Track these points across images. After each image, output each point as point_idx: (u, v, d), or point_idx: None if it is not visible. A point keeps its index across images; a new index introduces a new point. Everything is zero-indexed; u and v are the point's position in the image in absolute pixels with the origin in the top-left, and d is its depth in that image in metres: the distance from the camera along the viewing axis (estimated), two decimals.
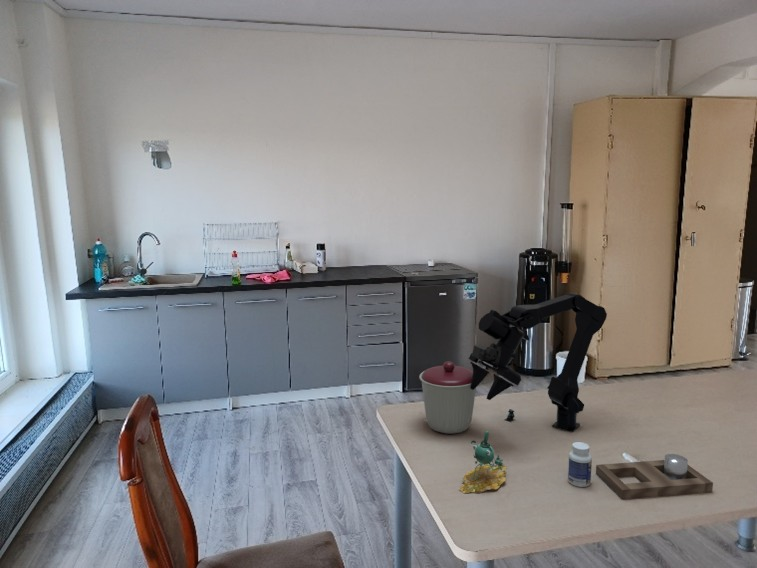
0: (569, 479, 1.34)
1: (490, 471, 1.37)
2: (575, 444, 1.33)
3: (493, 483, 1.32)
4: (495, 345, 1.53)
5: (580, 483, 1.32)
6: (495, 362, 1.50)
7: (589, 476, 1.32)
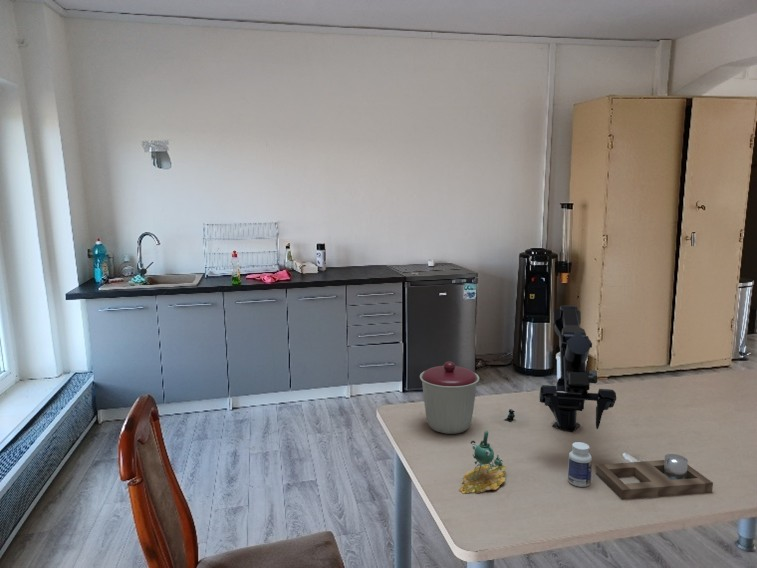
0: (569, 479, 1.34)
1: (490, 471, 1.37)
2: (575, 444, 1.33)
3: (493, 483, 1.32)
4: (573, 371, 1.44)
5: (580, 483, 1.32)
6: None
7: (589, 476, 1.32)
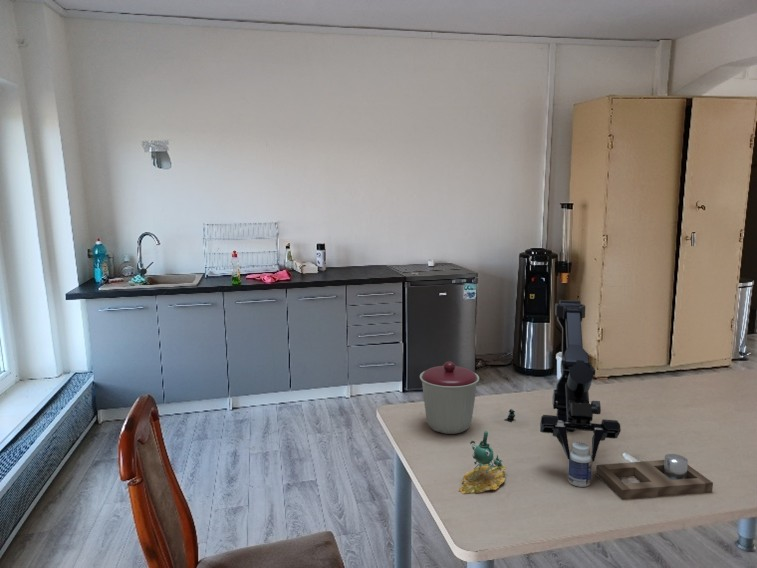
0: (569, 479, 1.34)
1: (489, 471, 1.37)
2: (575, 444, 1.33)
3: (492, 483, 1.32)
4: (576, 400, 1.38)
5: (580, 483, 1.32)
6: None
7: (589, 476, 1.32)
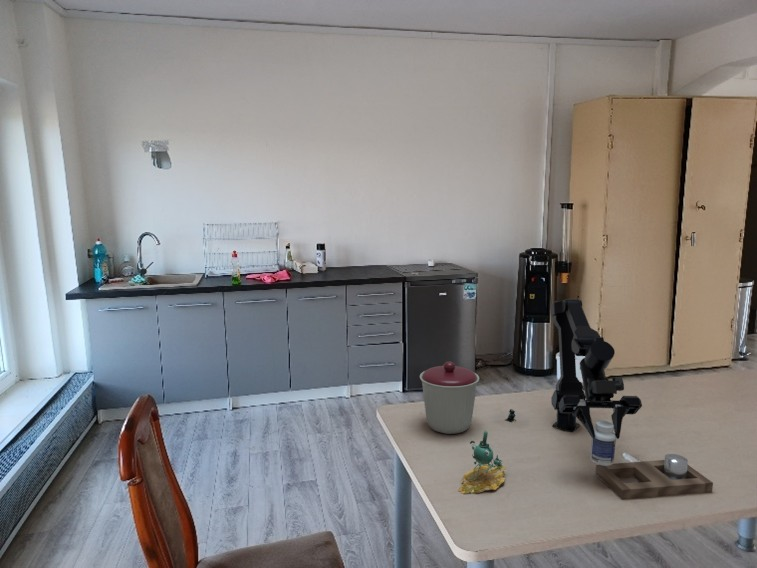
0: (593, 458, 1.31)
1: (489, 471, 1.37)
2: (599, 423, 1.31)
3: (492, 483, 1.32)
4: (595, 378, 1.36)
5: (605, 462, 1.30)
6: None
7: (613, 454, 1.30)
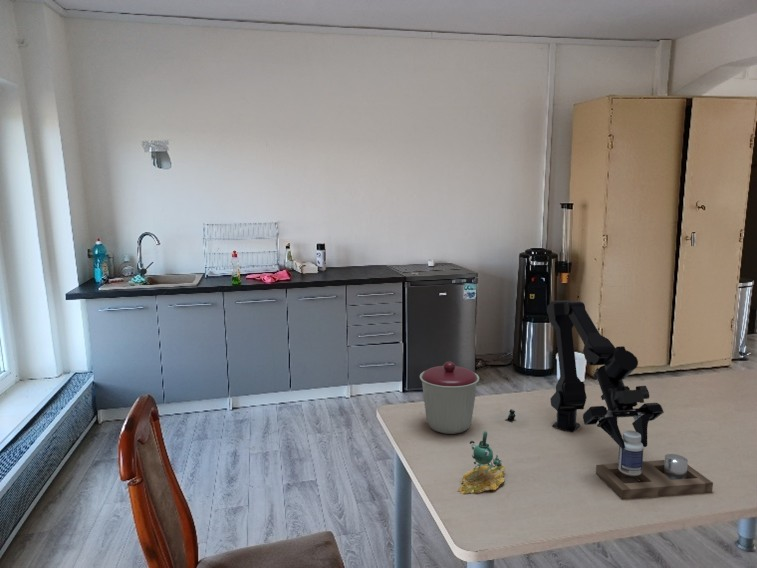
0: (623, 470, 1.31)
1: (489, 471, 1.37)
2: (626, 433, 1.31)
3: (492, 483, 1.32)
4: (616, 387, 1.36)
5: (636, 472, 1.30)
6: None
7: None
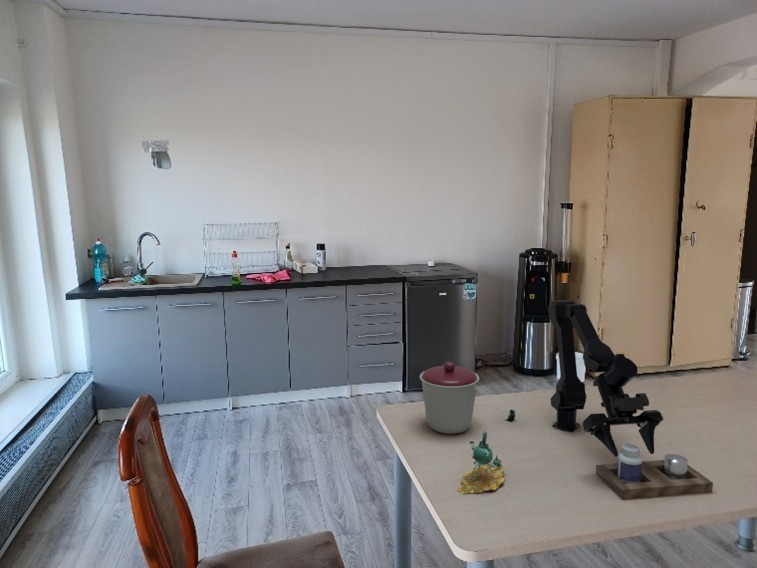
0: None
1: (488, 472, 1.37)
2: (625, 447, 1.32)
3: (491, 484, 1.32)
4: (616, 395, 1.36)
5: None
6: None
7: (640, 477, 1.31)
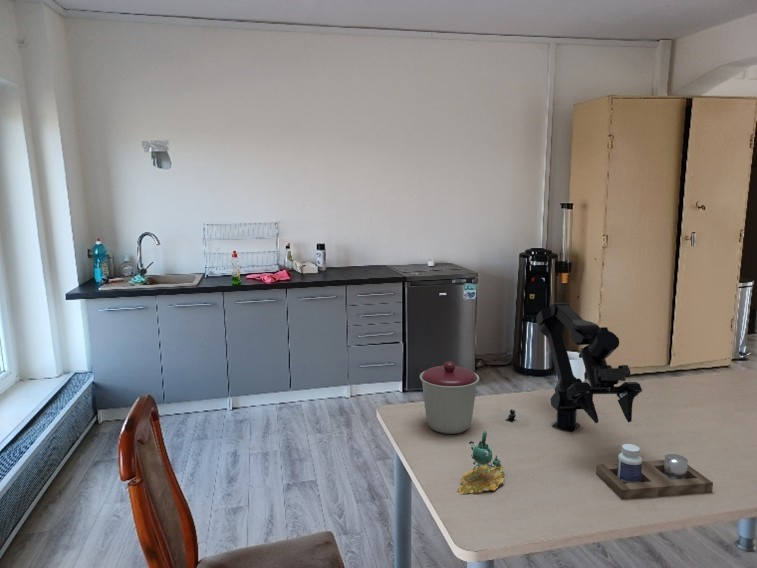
0: None
1: (488, 472, 1.37)
2: (625, 447, 1.32)
3: (491, 484, 1.32)
4: (600, 366, 1.43)
5: None
6: None
7: (640, 477, 1.31)
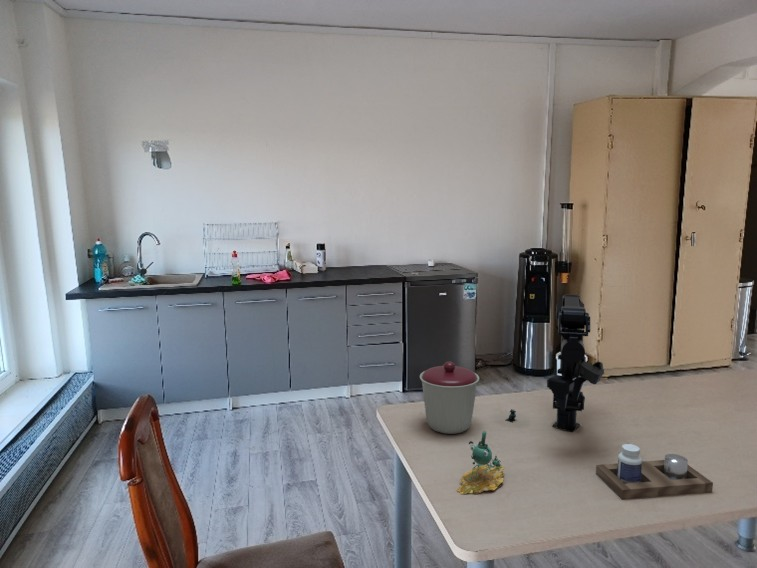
0: None
1: (488, 472, 1.36)
2: (625, 447, 1.32)
3: (491, 484, 1.32)
4: None
5: None
6: None
7: (640, 477, 1.31)
